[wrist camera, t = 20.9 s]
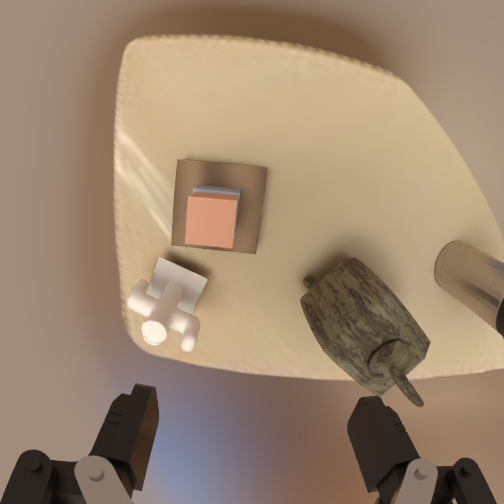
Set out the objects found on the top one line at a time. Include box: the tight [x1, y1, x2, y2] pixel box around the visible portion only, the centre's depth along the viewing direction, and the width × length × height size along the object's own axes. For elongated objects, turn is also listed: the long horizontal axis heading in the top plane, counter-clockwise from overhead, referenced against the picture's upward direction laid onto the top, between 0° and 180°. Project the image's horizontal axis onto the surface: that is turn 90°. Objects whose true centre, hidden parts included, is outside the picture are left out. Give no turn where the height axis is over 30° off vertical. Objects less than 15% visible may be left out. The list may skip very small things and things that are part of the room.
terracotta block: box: [185, 192, 238, 248], centre depth 29 cm, size 4×4×4 cm
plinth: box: [171, 159, 267, 254], centre depth 37 cm, size 11×11×4 cm
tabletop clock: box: [301, 257, 430, 407], centre depth 32 cm, size 14×9×25 cm, turn 46°
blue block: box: [193, 185, 240, 239], centre depth 33 cm, size 5×5×5 cm
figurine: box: [127, 257, 208, 352], centre depth 35 cm, size 7×9×15 cm
